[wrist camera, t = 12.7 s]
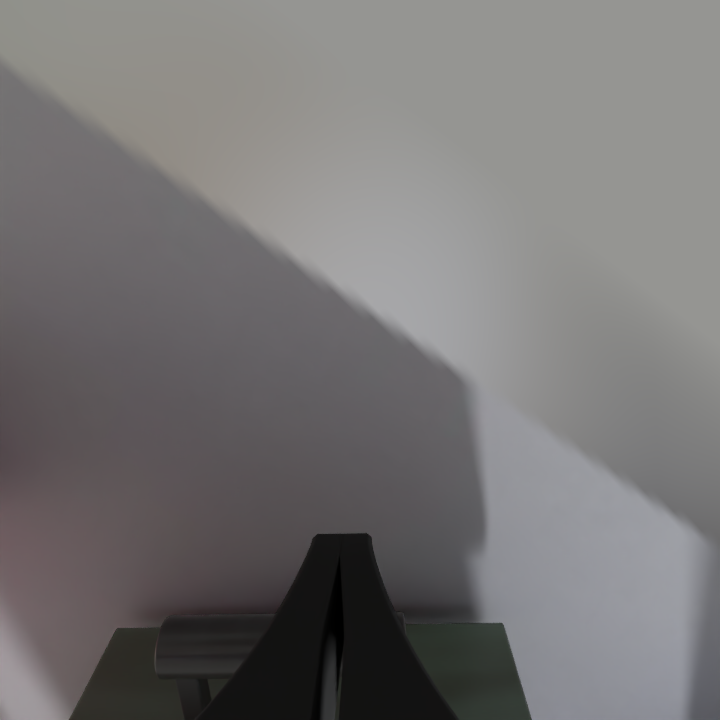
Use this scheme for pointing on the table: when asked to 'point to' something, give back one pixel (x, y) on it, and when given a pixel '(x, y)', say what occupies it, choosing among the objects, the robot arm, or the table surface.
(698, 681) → the table surface
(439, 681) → the drawer
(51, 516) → the table surface
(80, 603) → the table surface
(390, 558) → the table surface
